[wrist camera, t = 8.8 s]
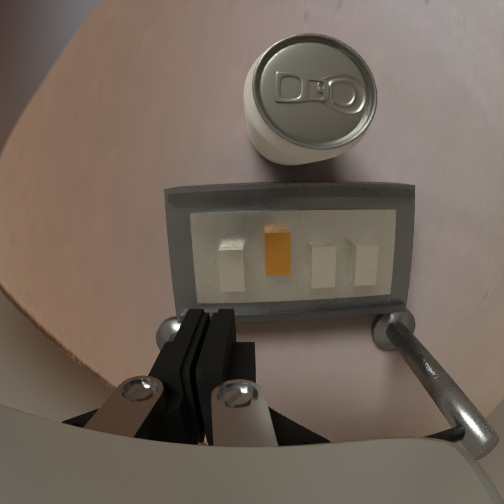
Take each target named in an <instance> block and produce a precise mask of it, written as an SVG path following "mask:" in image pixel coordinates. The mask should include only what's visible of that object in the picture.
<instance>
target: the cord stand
mask: <svg viewBox="0 0 504 504" xmlns="http://www.w3.org/2000/svg"><path fill="white" fill-rule="evenodd" d="M180 325H181V323H178V322H177V317H171V318H169V319H167V320H165V321H164V322H163V323H162V324H161V326H160V328H159V329H158V331H157V334H156V342H157V345H158V347H159V349H160V351H161V350H162V348H163V346H164V344H165V342H167V341H173V340H174V337H175V335H176V333H177V331H178V329H179V327H180ZM414 329H415V319H414V317H413V315H412V314H411V313H410V312H409V311H408V310H407V309H406V310H405V312H396V313H386V314H379V315H378V316H377V318H376V319H375V321H374V323H373V326H372V337H373V339H374V341H375V342H376V344H377V345H378V346H379V347H380V348H381V349H384V350H395V349H396V350H397V351H398V352H399V354H400V355H401V356H402V358H403V359H404V360H405V362H406V363H407V364H408V366H409V367H410V369H411V370H412V371H413V373H414V374H415V375H416V377H417V378H418V380H419V381H420V382H421V384H422V385H423V387H424V388H425V389H426V391H427V392H428V394H429V395H430V396H431V398H432V399H433V401H434V402H435V404H436V405H437V406H438V408H439V409H440V411H441V412H442V414H443V415H444V417H445V418H446V420H447V421H448V422H449V424H450V425H451V427H452V428H451V429H448V430H445V431H442V432H439V433H435V434H432V435H428V436H425V437H426V438H435V439H441V440H446V441H450V442H452V443H455V442H458V441H461V442H462V443H463V445H464V446H465V448H466V450H467V451H468V452H469V453H470V454H471V455H472V456H473V457H474V458H475V459H476V460H478V459H481V458H482V457H484V456H486V455H487V454H488V453H489V452H491V451H492V450H493V449H494V447H495V446H496V445H497V443H498V441H499V436H498V435H497V434H496V432H495V431H494V430H493V428H492V427H491V426H490V425H489V423H488V422H487V421H486V420H485V418H484V417H483V416H482V414H481V413H480V412H479V411H478V410H477V408H476V407H475V406H474V405H473V403H472V402H471V401H470V400H469V398H468V397H467V396H466V395H465V394H464V392H463V391H462V390H461V389H460V388H459V386H458V385H457V384H456V383H455V382H454V380H453V379H452V378H451V377H450V376H449V375H448V373H447V372H446V371H445V370H444V369H443V368H442V366H441V365H440V364H439V363H438V362H437V361H436V359H435V358H434V357H433V356H432V355H431V354H430V353H429V352H428V350H427V349H426V348H425V347H424V346H423V345H422V344H421V343H420V341H419V340H418V339H417V338H416V337H415V336H414V335H413V332H414Z"/></svg>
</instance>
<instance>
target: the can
mask: <svg viewBox="0 0 504 504" xmlns="http://www.w3.org/2000/svg"><path fill="white" fill-rule="evenodd" d="M376 106H377V89H376V84H375V80H374V77H373V75H372V73H371V71H370V69H369V67H368V65H367V64H366V62H365V61H364V60H363V59H362V57H361V56H360V55H359V54H358V53H357V52H356V51H355V50H353V49H352V48H351V47H350V46H348V45H347V44H345V43H343V42H341V41H339V40H337V39H335V38H332V37H330V36H326V35H322V34H315V33H303V34H296V35H292V36H288V37H286V38H283V39H281V40H279V41H277V42H276V43H274V44H273V45H272V46H270V47H269V48H268V49H267V50H266V51H265V52H264V53H262V54H261V55H260V56H259V57H258V58H257V60H256V61H255V62H254V64H253V65H252V67H251V69H250V71H249V73H248V75H247V78H246V81H245V86H244V109H245V118H246V125H247V131H248V135H249V138H250V141H251V143H252V144H253V146H254V147H255V149H256V150H257V151H258V152H259V153H260V154H261V155H262V156H263V157H265V158H266V159H268V160H270V161H272V162H274V163H277V164H281V165H300V164H306V163H312V162H317V161H322V160H327V159H330V158H333V157H336V156H339V155H341V154H343V153H345V152H346V151H348V150H349V149H351V148H352V147H353V146H355V145H356V144H357V143H358V142H359V141H360V140H361V138H362V137H363V136H364V134H365V133H366V131H367V129H368V127H369V125H370V123H371V121H372V119H373V117H374V114H375V111H376Z"/></svg>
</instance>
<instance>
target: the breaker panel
mask: <svg viewBox="0 0 504 504" xmlns="http://www.w3.org/2000/svg"><path fill="white" fill-rule="evenodd" d="M164 194H165V209H166V222H167V234H168V245H169V255H170V265H171V274H172V283H173V291H174V300H175V307H176V315H177V322H178V323H182V321H183V319H184V317H185V315H186V313H187V311H188V309H204V312H205V313H209V314H210V321H211V317H212V314H213V313H218V309H232V308H233V309H234V314H235V323H248V322H276V321H296V320H313V319H328V318H342V317H354V316H365V315H376V314H386V313H396V312H405V310H406V303H407V296H408V288H409V279H410V270H411V259H412V247H413V232H414V211H415V185H409V184H401V183H387V182H340V181H307V182H259V183H233V184H213V185H196V186H182V187H174V188H169V189H164Z"/></svg>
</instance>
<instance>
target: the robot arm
mask: <svg viewBox="0 0 504 504" xmlns="http://www.w3.org/2000/svg"><path fill="white" fill-rule="evenodd" d="M205 433H206V438H207V442H208V445H198V442H200V443H203V442H204V438H205ZM0 504H504V501H503V499H502V497H501V495H500V494H499V492H498V490H497V489H496V487H495V485H494V484H493V482H492V481H491V479H490V478H489V476H488V475H487V473H486V472H485V470H484V469H483V468H482V467H481V465H480V464H479V463H478V462H477V460H476V459H475V458H474V457H473V456H472V455H471V454H470V453H469V452H467V451H466V450H465V449H464V448H462V447H460V446H459V445H457V444H455V443H452V442H450V441H446V440H441V439H435V438H426V437H412V436H409V437H383V438H369V439H361V440H352V441H343V442H330V441H329V440H327V439H325V438H323V437H321V436H320V435H318V434H316V433H314V432H312V431H310V430H308V429H306V428H305V427H303V426H301V425H299V424H297V423H295V422H294V421H292V420H290V419H288V418H287V417H285V416H283V415H281V414H280V413H278V412H276V411H274V410H273V409H271V408H269V407H268V406H267V402H266V398H265V394H264V391H263V389H262V388H261V387H260V386H259V385H258V384H257V383H256V365H255V343H254V342H236V329H235V314H234V309H233V308H232V309H218V313H213V314H212V317H211V321H210V314H209V313H205V312H204V309H188V311H187V313H186V315H185V317H184V319H183V321H182V323H181V325H180V327H179V329H178V331H177V333H176V335H175V337H174V340H173V341H167V342H165V344H164V346H163V348H162V350H161V351H160V353H159V355H158V357H157V359H156V361H155V363H154V365H153V367H152V369H151V371H150V373H149V375H148V376H135V377H132V378H129V379H127V380H125V381H123V382H122V383H121V384H120V385H119V386H118V387H117V388H116V389H115V391H114V392H113V393H112V394H111V395H110V397H109V398H108V399H107V400H106V401H105V403H104V404H103V405H102V406H101V407H100V408H98V409H96V410H93V411H91V412H88V413H85V414H82V415H80V416H77V417H74V418H71V419H68V420H65V421H63V422H57V421H53V420H49V419H46V418H43V417H39V416H36V415H33V414H30V413H26V412H24V411H20V410H18V409H14V408H11V407H8V406H5V405H2V404H0Z"/></svg>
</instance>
